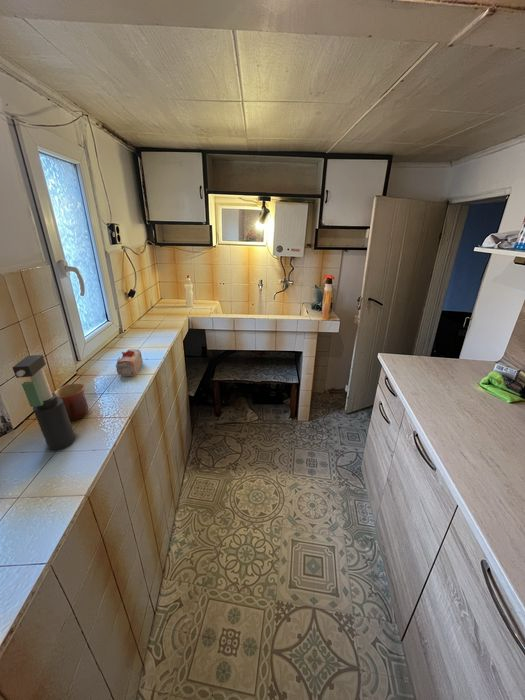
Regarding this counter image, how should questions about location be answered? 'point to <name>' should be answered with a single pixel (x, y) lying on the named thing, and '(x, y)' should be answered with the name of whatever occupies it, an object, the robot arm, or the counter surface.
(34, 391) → the trigger
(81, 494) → the counter surface
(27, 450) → the counter surface
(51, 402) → the spray bottle
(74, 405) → the mug
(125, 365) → the food item
